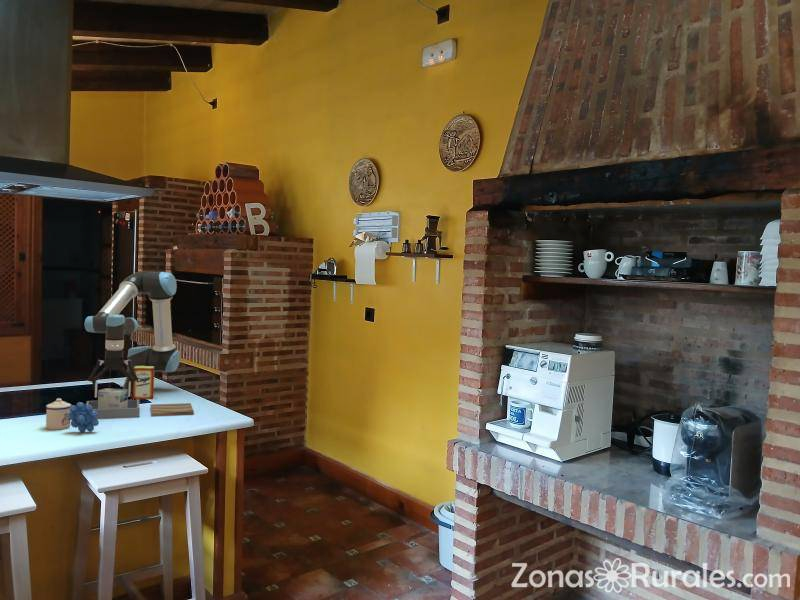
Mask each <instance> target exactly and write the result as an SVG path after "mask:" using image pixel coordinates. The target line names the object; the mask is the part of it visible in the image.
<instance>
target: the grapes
mask: <svg viewBox="0 0 800 600" xmlns="http://www.w3.org/2000/svg"><path fill="white" fill-rule="evenodd" d="M92 410H93V407H92V406H91V405H90V404H87V405H86V404H85V403H84V402H80V401H79V402H77V403H76V405H74V404H73V405H72V404H71V407H70V411H71V412H70V413H68V415H67V417H68V419H69V420H70V427H73V428H75V429H76V428H77V429H78V431H79V432H81V433H84V432H86V431H87V432H93V431H94V429H95V427H97V426H99V425H100V423H99V419H96V418H97V417H98V413H97V411H94V410H93V411H92Z"/></svg>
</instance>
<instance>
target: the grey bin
mask: <svg viewBox="0 0 800 600" xmlns="http://www.w3.org/2000/svg"><path fill="white" fill-rule="evenodd" d="M87 404H90V405H91V406H92V407H93V410H94V411H97V413H98V417H97V418H96V419H97V420H100V419H101V420H103V419H129V418H140V399H136V400H132V399H128V406H127V408H117V409H98V400H86V403H85V405H87ZM93 410H92V411H93Z"/></svg>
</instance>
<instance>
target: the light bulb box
mask: <svg viewBox="0 0 800 600" xmlns="http://www.w3.org/2000/svg"><path fill="white" fill-rule="evenodd" d="M128 393H129V392H128V390H127V389H123V388H121V389H120V388H108V387H107V388H102V389H99V390H98V389H97V401H98V409H117V408H127V406H128V400H129V399H128V398H129V397H128Z"/></svg>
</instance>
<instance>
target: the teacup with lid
mask: <svg viewBox="0 0 800 600" xmlns="http://www.w3.org/2000/svg"><path fill="white" fill-rule="evenodd" d="M71 406H72V404H71V403H68V402H67V401H64V400H62V398H56V400H55V401H53V402H51V403H48V404H46V406H45V409H46V416H45V419H46V420H45V427H46V429H47V430H50V431H51V430H53V431H56V430H57V431H58V430H65V429H68V428H70V427H71V420H69V419H68V417H67V415H68V413H70V412H71V411H70V407H71Z"/></svg>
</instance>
